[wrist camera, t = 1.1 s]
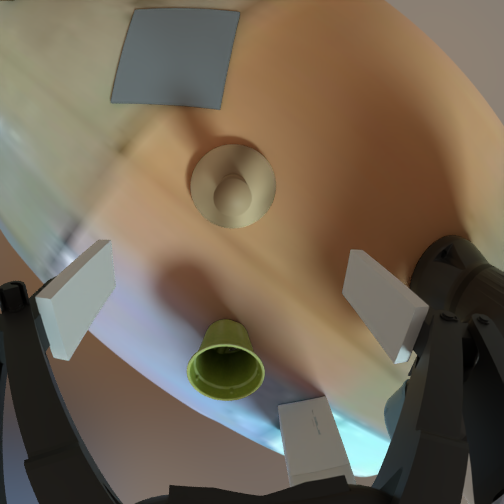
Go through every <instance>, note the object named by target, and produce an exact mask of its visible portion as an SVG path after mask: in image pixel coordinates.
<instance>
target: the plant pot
mask: <svg viewBox="0 0 504 504" xmlns="http://www.w3.org/2000/svg"><path fill="white" fill-rule="evenodd" d="M233 348H237V349H235V350H233V351H229V349H233ZM264 376H265V370H264V366H263V363H262V361H261V360H260V358H259V357H258V356H257V355H256V354H255V353H254V351H253V348H252V345H251V342H250V339H249V336H248V333H247V331H246V329H245V328H244V326H243V325H241V324H240V323H237V322H234V321H232V320H228V319H224V320H219V321H216V322H214V323H213V324H212V325H210V326H209V328H208V329H207V331H206V334H205V336H204V339H203V341H202V344H201V346H200V349H199V350H198V352H196V353H195V354H194V355H193V356H192V357H191V359H190V361H189V363H188V366H187V377H188V380H189V382H190V383H191V385H192V386H193V387H194V388H195V389H196V390H197V391H198V392H199V393H201V394H203V395H204V396H207V397H209V398H212V399H216V400H222V401H232V400H238V399H242V398H244V397H247V396H249V395H251V394H252V393H254V392H255V391H256V390H257V389H258V388H259V387H260V386H261V384H262V382H263V380H264Z"/></svg>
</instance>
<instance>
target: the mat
mask: <svg viewBox="0 0 504 504" xmlns="http://www.w3.org/2000/svg"><path fill="white" fill-rule="evenodd" d="M239 16H240V12H235V11H225V10H212V9H193V8H158V9H139V10H135V12H134V15H133V17H132V21H131V24H130V27H129V30H128V33H127V37H126V40H125V43H124V47H123V51H122V54H121V58H120V62H119V66H118V70H117V74H116V79H115V83H114V88H113V93H112V98H111V103H131V104H160V105H176V106H189V107H199V108H209V109H218V110H220V108H221V102H222V97H223V91H224V86H225V81H226V76H227V71H228V66H229V61H230V56H231V51H232V47H233V42H234V38H235V33H236V29H237V24H238V20H239Z"/></svg>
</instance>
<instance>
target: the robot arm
mask: <svg viewBox="0 0 504 504" xmlns="http://www.w3.org/2000/svg"><path fill="white" fill-rule="evenodd" d="M115 287H116V284H115V275H114V266H113V256H112V244H111V240H98V241H97V242H95V243H94V244H93V245H92V246H91V247H89V248H88V249H87V250H86V251H85V252H84V253H82V254H81V255H80V256H79V257H78V258H77V259H75V260H74V261H73V262H72V263H71V264H70V265H69V266H68V267H66V268H65V269H64V270H63V271H62V272H61V273H60V274H59V275H58V276H56V277H54V278H52V279H50V280H48V281H47V282H46V283H45V284H44V285H43V286H42V287H41V288H39V289H38V291H36V293H34V294H33V295H32V296H31V297H30V298H28V294H27V290H26V286H25V284H24V282H21V281H12V282H8V283H5V284H3V285H1V286H0V308H1V311H2V314H0V504H7V502H6V495H5V485H4V475H3V453H2V431H3V430H2V429H3V410H4V396H5V388H6V379H7V372H8V378H9V383H10V389H11V395H12V400H13V404H14V409H15V412H16V417H17V420H18V425H19V428H20V432H21V435H22V438H23V442H24V445H25V448H26V451H27V454H28V459H27V460H24V466H25V469H26V473H27V475H28V478H29V480H30V483H31V486H32V488H33V491H34V493H35V495H36V498H37V500H38V502H39V504H123V503H122V502H121V501H120V499H119V498H118V497H117V496H116V494H115V493H114V491H113V490H112V489H111V487H110V485H109V484H108V482H107V481H106V479H105V478H104V476H103V475H102V473H101V472H100V470H99V469H98V467H97V465H96V463H95V462H94V460H93V458H92V456H91V455H90V453H89V451H88V449H87V447H86V446H85V444H84V442H83V440H82V438H81V436H80V434H79V432H78V430H77V428H76V426H75V424H74V422H73V420H72V418H71V416H70V413H69V411H68V409H67V407H66V404H65V402H64V400H63V397H62V395H61V393H60V390H59V388H58V385H57V383H56V380H55V377H54V375H53V372H52V369H51V366H50V364H49V360H48V358H47V355H46V350H47V349H48V347H49V346H50V348H51V351H52V354H53V357H54V358H58V359H63V360H68V361H69V360H70V358H71V356H72V355H73V353H74V351H75V350H76V348H77V346H78V345H79V343H80V341H81V340H82V338H83V336H84V335H85V333H86V332H87V330H88V328H89V327H90V325H91V324H92V322H93V320H94V319H95V317H96V316H97V314H98V313H99V311H100V310H101V308H102V307H103V305H104V303H105V302H106V300H107V299H108V297H109V296H110V294H111V293H112V292H113V290H114V289H115ZM342 294H343V295H344V297H345V298H346V299H347V301H348V302H349V303H350V305H351V306H352V307H353V308H354V310H355V311H356V312H357V314H358V315H359V316H360V318H361V319H362V320H363V322H364V323H365V324H366V326H367V327H368V328H369V330H370V331H371V333H372V334H373V335H374V337H375V338H376V339H377V341H378V342H379V343H380V345H381V346H382V348H383V349H384V350H385V352H386V353H387V354H388V356H389V357H390V359H391V360H392V361H393V363H394V364H396V363H402V362H408V360H409V358H410V356H411V353H412V351H413V350H414V352H415V353H416V354H417V357H416V359H415V361H414V364H413V366H412V368H411V370H410V372H409V374H408V376H411V377H410V379H407V380H406V381H405V382H404V383H403V385H402V386H401V387H400V388H399V389H398V390H397V391H396V392H395V393H394V394H393V395H392V396H391V397H390V398H389V399H388V401H387V403H386V405H385V409H384V417H385V424H386V428H387V431H388V434H389V436H390V439H391V443H390V445H389V448H388V451H387V453H386V456H385V458H384V461H383V463H382V466H381V468H380V471H379V473H378V475H377V477H376V479H375V481H374V483H373V485H372V486H371V487H368V486H362V485H355V484H348V483H347V480H346V477H345V475H341V476H336V477H331V478H326V479H320V480H314V481H308V482H304V483H301V484H298V485H295V486H293V487H290V488H287V489H284V490H281V491H278V492H275V493H271V494H268V495H264V496H256V495H249V494H243V493H238V492H232V491H227V490H222V489H217V488H207V487H187V486H174V485H170V486H169V487H170V488H169V495H161V496H157V497H152V498H149V499H145V500H142V501H140V502H138V503H135V504H460V503H461V499H462V495H463V496H464V498H465V499H466V501H467V502H468V503H469V504H504V272H503V271H501V270H500V269H498V268H496V267H494V266H492V265H491V264H489V262H488V261H487V260H486V259H485V257H484V256H483V255H482V254H481V252H480V251H479V250H478V249H477V248H476V246H475V245H474V244H473V243H471V242H470V241H468V240H466V239H464V238H462V237H460V236H456V235H450V236H446V237H443V238H441V239H439V240H437V241H436V242H435V243H433V244H432V245H431V246H430V247H429V248H428V249H427V250H426V251H425V253H424V254H423V255H422V257H421V258H420V260H419V262H418V264H417V266H416V268H415V270H414V273H413V276H412V279H411V284H410V289H409V288H408V287H407V286H406V285H404V284H403V283H402V282H401V281H400V280H399V279H397V278H396V277H395V276H394V275H393V274H391V273H390V272H389V271H388V270H387V269H385V268H384V267H383V266H382V265H380V264H379V263H378V262H377V261H376V260H374V259H373V258H372V257H371V256H369V255H368V254H367V253H366V252H364V251H363V250H355V249H351V250H350V255H349V261H348V266H347V271H346V276H345V281H344V285H343V290H342Z"/></svg>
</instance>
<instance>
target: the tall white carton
mask: <svg viewBox="0 0 504 504" xmlns="http://www.w3.org/2000/svg"><path fill="white" fill-rule="evenodd" d="M278 413H279V421H280V430H281V437H282V442H283V448H284V454H285V460H286V465H287V471H288V476H289V483H290V487H293V486H295V485H298V484H301V483H304V482H308V481H314V480H320V479H326V478H331V477H336V476H341V475H345V477H346V480H347V483H348V484H355V485H357V484H356V481H355V478H354V475H353V472H352V469H351V466H350V463H349V460H348V457H347V454H346V451H345V448H344V445H343V443H342V440H341V437H340V434H339V431H338V428H337V426H336V423H335V420H334V417H333V414H332V412H331V409H330V406H329V403H328V400H327V398H326V396H324V397H319V398H314V399H309V400H304V401H299V402H293V403H287V404H281V405H278Z"/></svg>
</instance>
